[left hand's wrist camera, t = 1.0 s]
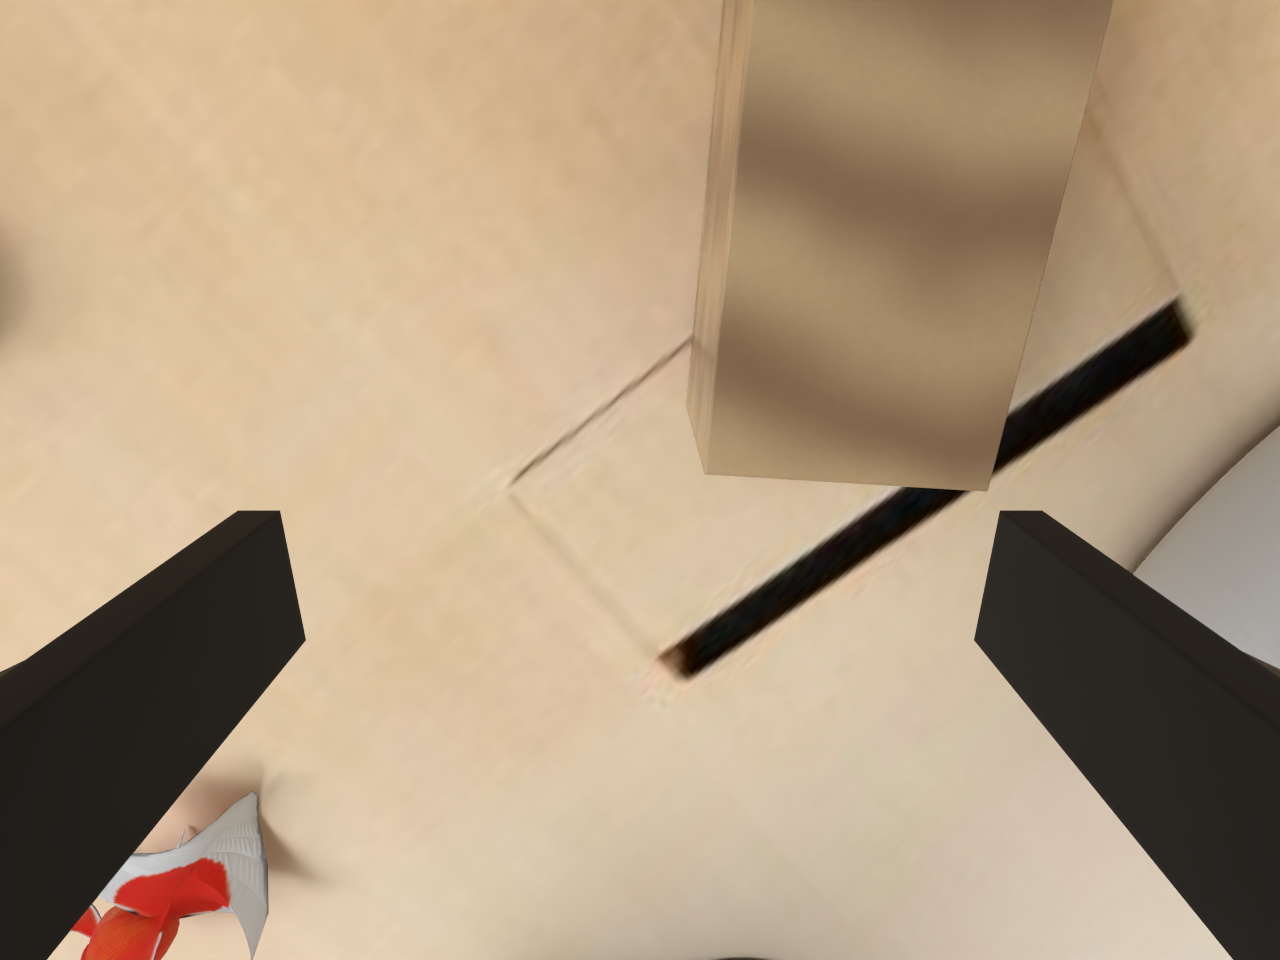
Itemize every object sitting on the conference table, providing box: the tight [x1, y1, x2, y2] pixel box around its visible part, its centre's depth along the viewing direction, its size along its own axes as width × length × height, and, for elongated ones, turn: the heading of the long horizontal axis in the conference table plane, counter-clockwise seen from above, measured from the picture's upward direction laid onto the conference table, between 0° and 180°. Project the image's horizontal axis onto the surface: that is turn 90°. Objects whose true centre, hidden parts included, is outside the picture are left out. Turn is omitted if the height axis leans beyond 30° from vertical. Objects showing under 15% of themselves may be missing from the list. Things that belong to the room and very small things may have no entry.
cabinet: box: [686, 0, 1113, 491], centre depth 26 cm, size 20×11×10 cm, turn 176°
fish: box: [70, 791, 268, 960], centre depth 41 cm, size 11×16×10 cm
